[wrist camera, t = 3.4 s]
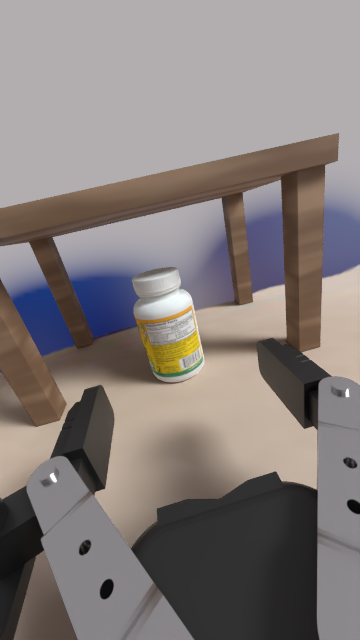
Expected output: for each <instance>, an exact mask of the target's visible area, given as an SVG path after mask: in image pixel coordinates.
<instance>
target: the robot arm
mask: <svg viewBox="0 0 360 640" xmlns="http://www.w3.org/2000/svg"><path fill="white" fill-rule="evenodd" d="M257 352H258V362H259V369H260V373H261V375H262V377H263V379H264V380H265V381H266V382H267V384H268V385H269V386H270V387H271V389H272V390H273V391H274V392H275V393H276V395H277V396H278V397H279V398H280V400H281V401H282V402H283V403H284V405H285V406H286V407H287V408H288V409H289V411H290V412H291V413H292V414H293V416H294V417H295V418H296V419H297V421H298V422H299V423H300V424H301V425H302V427H303V428H304V429H305V428H309V427H312V426H314V427H315V428H316V429H317V430H318V433H317V490H316V489H313V488H311V487H309V486H306V485H303V484H299V483H294V482H282V481H281V480H280V478H279V476H278V474H277V472H272V473H269V474H266V475H263V476H260V477H257V478H253V479H250V480H247V481H246V482H244V483H243V484H241V485H240V486H238V487H237V488H235V489H234V490H232V491H231V492H229V493H228V494H227V495H225V496H224V497H222V498H219V499H187V500H183V501H180V502H177V503H174V504H171V505H168V506H164V507H161V508H158V509H157V519H158V521H157V522H155V523H154V524H152V525H151V526H150V527H149V528H148V529H147V530H146V531H145V532H144V533H143V534H142V535H141V536H140V537H139V538H138V540H137V541H136V542H135V544H134V545H133V547H132V548H131V549H130V547H129V546H128V544H127V543H126V542H125V540H124V539H123V537H122V536H121V534H120V533H119V531H118V530H117V529H116V527H115V526H114V524H113V523H112V521H111V520H110V518H109V517H108V515H107V514H106V513H105V511H104V510H103V508H102V507H101V505H100V504H99V502H98V501H97V499H96V498H95V497H94V495H95V492H96V491H99V490H102V489H105V486H106V479H107V471H108V464H109V456H110V449H111V442H112V434H113V427H114V413H113V409H112V406H111V404H110V402H109V400H108V397H107V395H106V393H105V390H104V388H103V387H102V385H99V386H95V387H91V388H88V389H85V390H84V393H83V395H82V398H81V401H80V402H76V403H75V404H74V406H73V407H72V408H71V409H70V410H69V412H68V414H67V417H66V419H65V423H64V424H63V427H62V431H61V432H60V435H59V437H58V440H57V442H56V445H55V447H54V450H53V453H52V455H51V458H50V459H49V460H47V461H46V462H44V463H43V464H42V465H40V466H39V467H38V468H37V469H36V470H35V472H34V473H33V474H32V476H31V477H30V479H29V481H28V483H27V486H25V487H23V488H22V489H20V490H18V491H17V492H15V493H13V494H11V495H10V496H8V497H6V498H4V499H3V500H2V499H1V498H0V640H13V639H14V635H15V631H16V628H17V624H18V620H19V617H20V613H21V609H22V606H23V602H24V599H25V595H26V591H27V588H28V584H29V580H30V577H31V573H32V569H33V566H34V562H35V558H36V556H37V555H38V554H40V553H41V552H42V551H45V553H46V556H47V559H48V561H49V564H50V567H51V569H52V572H53V575H54V577H55V580H56V583H57V585H58V588H59V591H60V593H61V596H62V599H63V602H64V604H65V607H66V610H67V612H68V615H69V618H70V620H71V623H72V626H73V628H74V631H75V634H76V636H77V639H78V640H360V385H359V384H357V383H356V382H354V381H352V380H350V379H347V378H343V377H336V376H334V377H332V376H331V375H329V374H328V373H327V372H326V371H324V370H323V369H322V368H320V367H319V366H318V365H317V364H315V363H314V362H313V361H311V360H309V358H308V357H306V356H305V355H303V353H301V352H300V351H299V350H297V349H296V348H294V347H291V346H288V345H286V344H285V345H281V344H280V343H278V342H277V341H276V340H275V339H274V338H270V339H266V340H263V341H259V342H257Z"/></svg>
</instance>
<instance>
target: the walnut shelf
mask: <svg viewBox="0 0 360 640" xmlns="http://www.w3.org/2000/svg"><path fill="white" fill-rule="evenodd" d="M338 140H339V133H337V134H333V135H328V136H324V137H319V138H315V139H310V140H306V141H301V142H297V143H292V144H288V145H284V146H279V147H274V148H270V149H265V150H261V151H256V152H252V153H247V154H243V155H238V156H234V157H230V158H225V159H221V160H216V161H211V162H207V163H202V164H198V165H194V166H189V167H184V168H180V169H176V170H171V171H167V172H162V173H158V174H153V175H149V176H144V177H140V178H135V179H131V180H127V181H122V182H117V183H113V184H108V185H104V186H99V187H95V188H90V189H86V190H81V191H77V192H72V193H68V194H63V195H59V196H54V197H50V198H46V199H41V200H36V201H32V202H28V203H23V204H18V205H14V206H10V207H5V208H0V246H5V245H12V244H19V243H26V242H29V243H30V245H31V247H32V249H33V252H34V254H35V256H36V258H37V261H38V263H39V265H40V267H41V269H42V272H43V274H44V276H45V278H46V280H47V283H48V285H49V287H50V289H51V291H52V293H53V296H54V298H55V300H56V302H57V304H58V307H59V309H60V311H61V313H62V316H63V318H64V320H65V322H66V325H67V327H68V329H69V331H70V333H71V336H72V338H73V340H74V342H75V345H76V347H77V348H80V347H83V346H87V345H91V344H92V341H93V339H94V337H93V335H92V332H91V330H90V328H89V325H88V323H87V321H86V318H85V316H84V313H83V311H82V308H81V306H80V303H79V301H78V298H77V296H76V294H75V291H74V289H73V286H72V284H71V282H70V279H69V277H68V274H67V272H66V270H65V267H64V264H63V262H62V260H61V257H60V255H59V252H58V250H57V247H56V245H55V243H54V240H53V238H52V237H55V236H59V235H64V234H68V233H72V232H76V231H81V230H85V229H89V228H93V227H98V226H102V225H107V224H111V223H115V222H119V221H123V220H128V219H132V218H137V217H141V216H145V215H149V214H154V213H158V212H162V211H166V210H171V209H175V208H180V207H184V206H188V205H192V204H196V203H201V202H205V201H210V200H214V199H218V198H222V204H223V212H224V220H225V228H226V236H227V243H228V251H229V259H230V267H231V275H232V282H233V289H234V298H235V302H237V303H238V304H239V305H242V304H246V303H250V302H253V298H252V287H251V277H250V267H249V256H248V246H247V235H246V225H245V215H244V204H243V193H242V192H245V191H248V190H251V189H254V188H257V187H260V186H263V185H266V184H269V183H272V182H275V181H278V180H281V187H282V214H283V240H284V241H283V243H284V267H285V268H284V270H285V297H286V325H287V343H289V344H290V345H291V346H292V347H294V348H296V349H297V350H299V351H300V352H302V351H306V350H309V349H313V348H317V347H320V330H321V294H322V258H323V222H324V187H325V165H326V164H329V163H332V162H335V161H338V143H339V141H338ZM0 370H1V371H2V373H3V374H4V376H5V378H6V379H7V381H8V382H9V384H10V385H11V387H12V389H13V390H14V392H15V393H16V395H17V397H18V398H19V400H20V401H21V403H22V404H23V406H24V408H25V409H26V411H27V412H28V414H29V416H30V417H31V419H32V420H33V422H34V423H35V425H36V426H40V425H44V424H47V423H51V422H54V421H58V420H60V418H61V416H62V413H63V411H64V409H65V406H66V402H65V400H64V398H63V396H62V394H61V392H60V390H59V388H58V387H57V385H56V383H55V381H54V379H53V377H52V375H51V373H50V372H49V370H48V368H47V366H46V364H45V362H44V360H43V358H42V357H41V355H40V353H39V351H38V349H37V347H36V345H35V344H34V342H33V340H32V338H31V336H30V334H29V332H28V330H27V329H26V327H25V325H24V323H23V321H22V319H21V317H20V315H19V313H18V311H17V309H16V308H15V306H14V304H13V302H12V300H11V298H10V296H9V294H8V293H7V291H6V289H5V287H4V285H3V283H2V281H1V280H0Z"/></svg>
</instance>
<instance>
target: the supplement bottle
mask: <svg viewBox="0 0 360 640" xmlns="http://www.w3.org/2000/svg"><path fill="white" fill-rule="evenodd" d="M132 282H133V286H134V290H135V293H137V295H138V296H140V299H139V300H138V301H137V302H136V304H135V306H134V316H135V319H136V322H137V325H138V329H139V332H140V335H141V338H142V341H143V344H144V347H145V350H146V354H147V357H148V360H149V363H150V366H151V369H152V372H153V374H154V375H155V376H156V377H157V378H158V379H159V380H161V381H164V382H180V381H184V380H187V379H189V378H191V377H193V376H195V375H196V374H197V373H198V372H199V371H200V370H201V369H202V367H203V365H204V355H203V350H202V345H201V340H200V335H199V331H198V326H197V321H196V316H195V311H194V306H193V302H192V297H191V296H190V294H189V293H188V292H187V291H185V290H183V289H179V286H180V282H181V280H180V276H179V272H178V269H177V268H174V267H168V268H160V269H155V270H151V271H147V272H144V273H141V274H139V275H137V276H135V277H133V279H132Z"/></svg>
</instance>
